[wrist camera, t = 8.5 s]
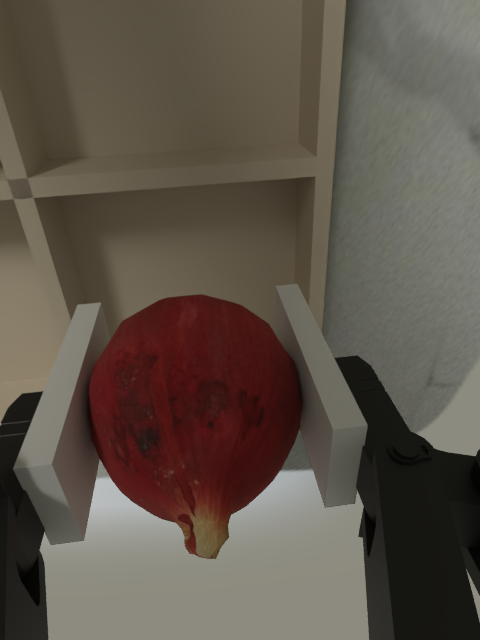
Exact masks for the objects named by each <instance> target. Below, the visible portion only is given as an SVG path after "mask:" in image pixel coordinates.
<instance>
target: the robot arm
mask: <svg viewBox="0 0 480 640" xmlns="http://www.w3.org/2000/svg"><path fill="white" fill-rule="evenodd" d="M275 335H276V336H277V338H278V340H279V341H280V343H281V344H282V345H283V347H284V348H285V350H286V351H287V353H288V354H289V355H290V357H291V358H292V360H293V361H294V363H295V368H296V373H297V378H298V383H299V393H300V402H301V420H300V430H301V433H302V436H303V439H304V443H305V446H306V449H307V452H308V455H309V458H310V462H311V465H312V468H313V471H314V474H315V477H316V480H317V484H318V487H319V490H320V493H321V496H322V499H323V503H324V506H325V507H333V506H340V505H347V504H354V503H355V499H356V494H357V490H358V493H359V495H360V498H361V500H362V503H363V505H364V508H363V514H362V519H361V525H360V530H359V537H363V546H364V561H365V577H366V593H367V610H368V626H369V640H480V622H479V618H478V614H477V610H476V606H475V603H474V598H473V594H472V590H471V586H470V583H469V579H468V575H467V571H468V573H469V575H470V577H471V579H472V581H473V583H474V585H475V587H476V589H477V591H478V593H479V595H480V450H478V452H477V455H476V456H469V455H462V454H455V453H448V452H444V451H440V450H437V449H434V448H433V446H432V445H431V444H430V443H429V442H428V441H427V440H425V439H424V438H423V437H421V436H419V435H417V434H415V433H413V432H411V431H410V430H409V429H408V427H407V425H406V424H405V422H404V420H403V419H402V417H401V415H400V414H399V412H398V410H397V409H396V407H395V405H394V404H393V402H392V400H391V399H390V397H389V395H388V394H387V392H385V389H384V387H383V385H382V384H381V382H380V381H379V380H378V377H377V375H376V374H375V372H374V370H373V369H372V367H371V366H370V365H369V364H368V363H366V362H365V361H364V360H363V359H361V358H360V357H359V356H349V357H340V358H334V357H333V355H332V353H331V351H330V348H329V346H328V344H327V342H326V340H325V338H324V336H323V334H322V332H321V330H320V328H319V326H318V324H317V322H316V320H315V318H314V316H313V314H312V312H311V310H310V308H309V306H308V304H307V302H306V300H305V298H304V296H303V294H302V292H301V290H300V288H299V286H298V284H290V285H280V286H276V288H275ZM109 341H110V336H109V332H108V328H107V324H106V320H105V316H104V312H103V308H102V304H101V303H91V304H80V305H77V307H76V310H75V313H74V315H73V318H72V320H71V323H70V325H69V328H68V330H67V333H66V335H65V338H64V340H63V343H62V346H61V348H60V351H59V353H58V356H57V358H56V361H55V363H54V366H53V368H52V371H51V374H50V376H49V379H48V381H47V384H46V386H45V389H44V391H41V392H32V393H22V394H21V395H20V396H19V397H18V398H17V399H16V400H15V401H14V402H13V403H12V404H11V405H10V406H9V407H8V409H7V411H6V413H5V415H4V417H3V419H2V421H1V426H0V640H48V625H47V606H46V587H45V567H44V561H43V557H42V554H41V553H40V551H39V549H40V546H41V542H42V538H43V535H44V532H45V534H46V536H47V538H48V540H49V542H50V544H51V545H55V544H62V543H70V542H77V541H84V537H85V532H86V527H87V521H88V517H89V511H90V506H91V500H92V496H93V490H94V485H95V480H96V475H97V470H98V465H99V459H100V458H99V456H98V454H97V451H96V449H95V446H94V444H93V442H92V438H91V431H90V423H89V387H90V380H91V374H92V368H93V367H94V365H95V363H96V362H97V360H98V359H99V357H100V356H101V354H102V352H103V351H104V349H105V348H106V346H107V344H108V343H109ZM466 569H467V571H466Z"/></svg>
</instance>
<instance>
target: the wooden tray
mask: <svg viewBox="0 0 480 640" xmlns="http://www.w3.org/2000/svg"><path fill="white" fill-rule="evenodd" d="M345 10H346V0H0V426H1V421H2V419H3V417H4V415H5V413H6V411H7V409H8V407H9V406H10V405H11V404H12V403H13V402H14V401H15V400H16V399H17V398H18V397H19V396H20V395H21V394H22V393H32V392H41V391H44V389H45V386H46V384H47V381H48V379H49V376H50V374H51V371H52V368H53V366H54V363H55V361H56V358H57V356H58V353H59V351H60V348H61V346H62V343H63V340H64V338H65V335H66V333H67V330H68V328H69V325H70V323H71V320H72V318H73V315H74V313H75V310H76V307H77V305H80V304H91V303H101V304H102V308H103V312H104V316H105V320H106V324H107V328H108V332H109V336H110V340H111V338H112V336H113V335H114V333H115V332H116V330H117V328H118V327H119V325H120V324H121V322H122V321H123V320H125V319H127V318H128V317H130V316H132V315H134V314H135V313H137V312H139V311H141V310H142V309H144V308H146V307H148V306H149V305H151V304H153V303H155V302H157V301H158V300H161V299H164V298H167V297H177V296H187V295H198V294H203V295H207V296H211V297H215V298H219V299H223V300H227V301H230V302H234V303H237V304H240V305H242V306H244V307H245V308H247V309H248V310H250V311H251V312H253V313H254V314H255V315H257V316H258V317H260V318H261V319H263V320H264V321H266V322H267V323H269V325H270V326H271V328H272V330H273V331H274V333H275V288H276V286H280V285H290V284H298V286H299V288H300V290H301V292H302V294H303V296H304V298H305V300H306V302H307V304H308V306H309V308H310V310H311V312H312V314H313V316H314V318H315V320H316V322H317V324H318V326H319V328H320V330H321V332H322V325H323V311H324V298H325V284H326V270H327V256H328V243H329V229H330V215H331V202H332V188H333V174H334V160H335V147H336V133H337V119H338V106H339V92H340V78H341V64H342V51H343V37H344V23H345Z"/></svg>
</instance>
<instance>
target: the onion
mask: <svg viewBox="0 0 480 640" xmlns="http://www.w3.org/2000/svg"><path fill="white" fill-rule="evenodd" d="M300 420H301V402H300V393H299V383H298V378H297V373H296V368H295V363H294V361H293V360H292V358H291V357H290V355H289V354H288V353H287V351H286V350H285V348H284V347H283V345H282V344H281V343H280V341H279V340H278V338H277V336H276V335H275V333H274V331H273V330H272V328H271V326H270V325H269V323H267V322H266V321H264V320H263V319H261V318H260V317H258V316H257V315H255V314H254V313H253V312H251V311H250V310H248V309H247V308H245V307H244V306H242V305H240V304H237V303H234V302H230V301H227V300H223V299H219V298H215V297H211V296H207V295H203V294H198V295H187V296H177V297H167V298H164V299H161V300H158V301H157V302H155V303H153V304H151V305H149V306H148V307H146V308H144V309H142V310H141V311H139V312H137V313H135V314H134V315H132V316H130V317H128V318H127V319H125V320H123V321H122V322H121V324H120V325H119V327H118V328H117V330H116V332H115V333H114V335H113V336H112V338H111V340H110V341H109V343H108V344H107V346H106V348H105V349H104V351H103V352H102V354H101V356H100V357H99V359H98V360H97V362H96V363H95V365H94V367H93V368H92V374H91V380H90V387H89V423H90V431H91V438H92V442H93V444H94V446H95V449H96V451H97V454H98V456H99V458H100V460H101V461H102V463H103V465H104V467H105V469H106V470H107V472H108V474H109V476H110V477H111V479H112V481H113V482H114V483H115V485H116V486H117V487H118V488H119V490H120V491H121V492H122V493H123V494H124V495H125V496H127V497H128V498H129V499H130V500H131V501H132V502H134V503H135V504H137V505H138V506H140V507H142V508H143V509H145V510H146V511H148V512H150V513H151V514H153V515H155V516H157V517H159V518H161V519H164V520H167V521H171V522H176V523H177V524H178V525H179V526H180V528H181V529H182V531H183V534H184V536H185V540H184V542H185V547H186V549H187V550H188V552H189V553H190V554H195V555H197V556H198V557H202V558H208V559H216V557H217V555H218V552H219V550H220V548H221V546H222V545H223V544H224V543H225V541H226V540H227V539H228V538H229V533H228V523H229V519H230V516H231V514H233V513H235V512H237V511H239V510H241V509H242V508H244V507H246V506H247V505H248V504H249V503H250V502H251V501H252V500H254V499H255V498H256V497H257V496H258V495H259V494H260V493H261V492H262V491H263V490H264V489H265V488H266V487H267V486H268V485H269V484H270V483H271V482H272V481H273V480H274V478H275V477H276V475H277V474H278V473H279V471H280V470H281V468H282V466H283V464H284V462H285V460H286V458H287V456H288V454H289V452H290V450H291V448H292V446H293V445H294V442H295V439H296V437H297V434H298V431H299V428H300Z"/></svg>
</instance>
